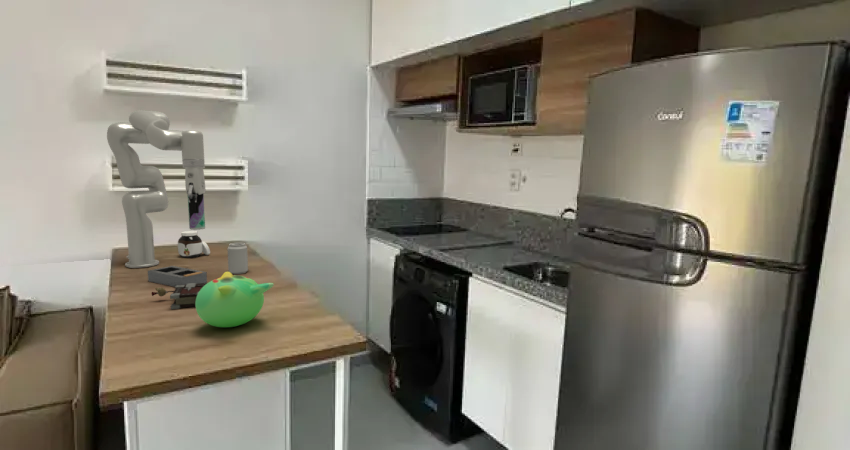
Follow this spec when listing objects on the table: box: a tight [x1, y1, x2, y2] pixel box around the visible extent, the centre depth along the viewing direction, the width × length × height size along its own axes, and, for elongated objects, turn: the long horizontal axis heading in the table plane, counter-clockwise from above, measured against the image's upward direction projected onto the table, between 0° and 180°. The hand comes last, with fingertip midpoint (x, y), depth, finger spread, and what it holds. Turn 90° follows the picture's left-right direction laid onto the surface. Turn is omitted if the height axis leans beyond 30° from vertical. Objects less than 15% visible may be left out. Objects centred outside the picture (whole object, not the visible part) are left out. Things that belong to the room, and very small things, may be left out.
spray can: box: [187, 184, 206, 231], centre depth 187 cm, size 6×6×20 cm
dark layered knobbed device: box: [151, 282, 208, 310], centre depth 159 cm, size 15×25×5 cm, turn 109°
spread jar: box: [177, 230, 211, 259], centre depth 230 cm, size 12×11×12 cm
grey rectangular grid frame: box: [147, 265, 208, 288], centre depth 183 cm, size 20×10×4 cm, turn 61°
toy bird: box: [195, 271, 275, 328], centre depth 137 cm, size 18×17×15 cm
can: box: [226, 242, 249, 275], centre depth 199 cm, size 8×8×12 cm
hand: (196, 211), depth 187 cm, fingers closed on spray can, 5 cm apart
